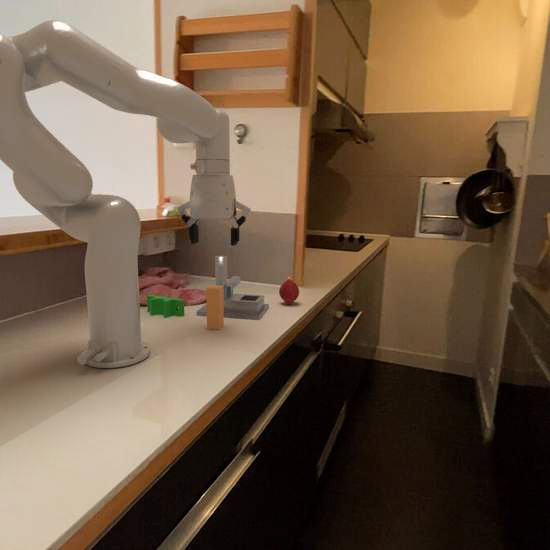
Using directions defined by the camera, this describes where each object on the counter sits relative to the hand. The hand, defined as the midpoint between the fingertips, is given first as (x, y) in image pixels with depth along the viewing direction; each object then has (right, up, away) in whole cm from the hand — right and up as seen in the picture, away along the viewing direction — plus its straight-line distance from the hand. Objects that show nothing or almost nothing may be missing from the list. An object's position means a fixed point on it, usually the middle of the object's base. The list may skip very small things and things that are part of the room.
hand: (214, 244), depth 101 cm
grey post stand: (+4, -16, +22) cm, 28 cm away
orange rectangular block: (0, -20, +4) cm, 20 cm away
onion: (+18, -16, +25) cm, 35 cm away
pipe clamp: (-16, -18, +14) cm, 27 cm away
